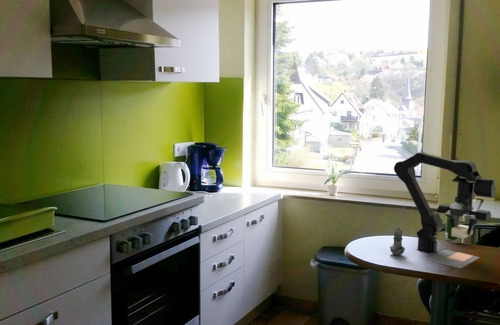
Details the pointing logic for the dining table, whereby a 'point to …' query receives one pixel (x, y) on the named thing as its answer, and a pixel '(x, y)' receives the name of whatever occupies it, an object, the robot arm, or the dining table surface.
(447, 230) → the beer can
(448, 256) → the mat
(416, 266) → the dining table surface
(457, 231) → the cream block
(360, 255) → the dining table surface
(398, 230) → the grey tower figurine
